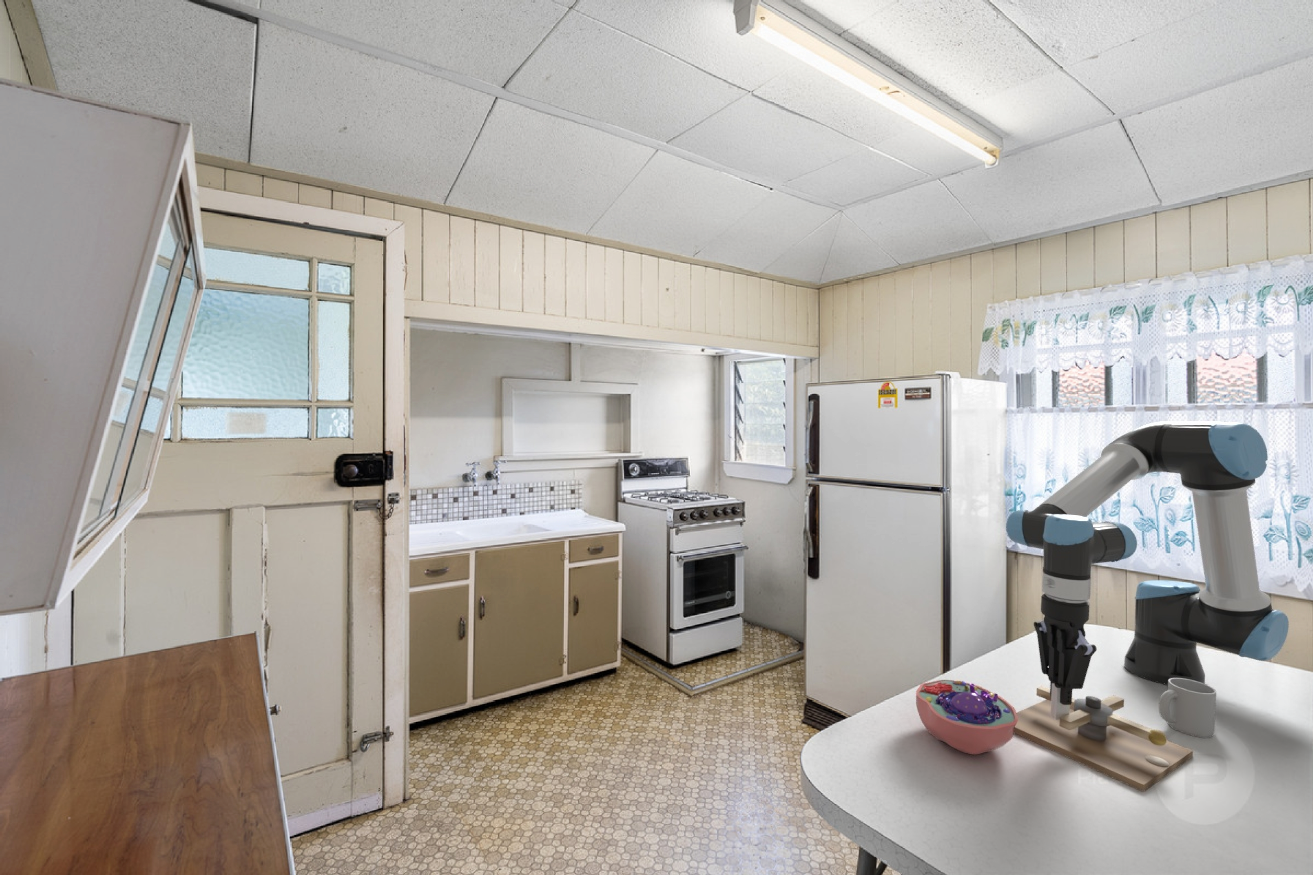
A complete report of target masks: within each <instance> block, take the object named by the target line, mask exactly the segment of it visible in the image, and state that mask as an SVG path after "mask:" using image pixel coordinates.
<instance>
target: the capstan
mask: <svg viewBox="0 0 1313 875" xmlns="http://www.w3.org/2000/svg"><path fill="white" fill-rule="evenodd" d="M1035 694H1036V696H1037V697H1039V698H1043V699H1044V700H1049V701H1051V696H1050V688H1049V687H1045V686H1043V685H1041V686H1038V687H1036V693H1035ZM1124 706H1125V698H1122V697H1119V696H1116V695H1111V696H1108V697H1107V698H1103V699H1102V700H1101V699H1100V698H1098V697H1096V696H1092V695H1087V696H1085V698H1076V699H1075V698H1073V697H1072V703H1071V705H1070V709H1071V710H1074V712H1072V713H1070V714H1067V715H1065V716H1063V717H1060V724H1059V726H1060V727H1063V728H1065V729H1067V730H1072V729H1075V728H1077V727H1079V726H1081V725H1084V724H1086V723H1089V724H1093V725H1098V726H1110V725H1111V726H1113V727H1116V728H1118V729H1121V730H1123V731H1126V732H1128V733H1131V734H1133V735H1135V736H1138V737H1140V738H1143V739H1145V740H1148V741H1150V742H1152V743H1153V744H1155V745H1158V746H1162V745H1164V744H1166V742H1167V741H1168V739H1167V736H1166V734H1165V733H1164V732H1162V731H1161V730H1158V729H1152V728H1151V727H1148V726H1145V725H1143V724H1140V723H1138V722H1135V721H1133V720H1129V719H1127V718H1124V717H1122V716H1121V715H1117V714H1114V712H1115V711H1118V710H1120V709H1122V708H1125V707H1124Z"/></svg>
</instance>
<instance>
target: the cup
mask: <svg viewBox="0 0 1313 875" xmlns="http://www.w3.org/2000/svg"><path fill="white" fill-rule="evenodd" d="M1158 700H1159V701H1158V711H1159V715H1160V717H1161V718H1162V720H1164V721H1165V722H1166V723H1167V724H1168V725H1169V726H1170V728H1172V729H1174V730H1175V731H1177V732H1180V733H1182V734H1186V735H1188V736H1192V737H1195V738H1203V739H1205V738H1206V739H1207V738H1211V737H1213V736H1214V735H1215V728H1216V726H1215V724H1216V706H1217V705H1216V704H1217V691H1216V689H1215V688H1214V687H1211V686H1210V685H1208V684H1206V683H1205V684H1203V683H1200V682H1197V681H1193V680H1189V679H1183V678H1171V679H1169V680H1168V685H1167V690H1165V691H1164V692H1163V693H1162V694H1161V695H1160V697H1159V699H1158Z"/></svg>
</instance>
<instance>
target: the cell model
mask: <svg viewBox="0 0 1313 875" xmlns="http://www.w3.org/2000/svg"><path fill="white" fill-rule="evenodd" d="M915 694H916V696H915V704H916V709H917V712H918V713H917V714H918V716H919V719H920V721H921V723H922V725H923V726H924V727H925V729H926V730H927V731H928V733H929V734H930V735H931V736H933V737H934V738H935V739H937V740H938V741H941V742H943V743H945V744H947V745H948V746H950V747H951V748H953V749H954V750H957V751H959V752H961V753H965V754H969V755H980V754H983V753H987V752H988V753H989V752H993V751H996V750H998V749H1000V748H1002V747H1004V746H1005V745H1006V744H1008V743H1009V742H1011V740H1012V739H1013V738H1014V733H1013V732H1014V727H1015V725H1016V724H1017V722H1018V717H1017V714H1016V713H1017V711H1016V709H1015V707H1013V705H1012V704H1011V703H1009V702H1008V701H1007V700H1006V699H1004V698H1003V697H1001V696H1000V695H998V693H995V692H994V693H993V692H992V691H990V690H988V689H986V688H983V687H982V686H979V685H978V684H977V685H976V684H974V683H968V682H965V681H964V680H954V679H953V680H951V679H938V680H934V681H933V680H932V681H929V682H924V683H921V684H920V685H919V687H918V688H917V690H916V693H915Z"/></svg>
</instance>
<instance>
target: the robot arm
mask: <svg viewBox="0 0 1313 875" xmlns="http://www.w3.org/2000/svg"><path fill="white" fill-rule="evenodd" d="M1268 458H1269V457H1268V449H1267V446H1266V443H1265V441H1264V438H1263V436H1262V435H1261V434H1260V432H1259V431H1258V430H1257V429H1256V428H1254V427H1253V426H1252V425H1250V424H1248V423H1247V424H1246V423H1242V422H1228V421H1221V420H1220V421H1158V422H1153V423H1149V424H1146V425H1143V426H1140V427H1138V428H1135V429H1133V430H1130V431H1128V432H1127V433H1125V434H1123V435H1121V436H1119V437H1118V438H1115V439H1114V440H1113V441H1112V442H1110V443H1109V444H1107V445H1106V446H1105V447H1104V448H1102V450H1101V454H1100V456H1099V458H1097V459H1096V460H1095V461H1094V462H1092V463H1091V464H1090V465H1088V466H1087V467H1086V468H1085V469H1083V470H1082V471H1081V472H1080V473H1078V474H1077V475H1076V476H1074V477H1073V478H1072V479H1071V480H1070V481H1068V482H1067V483H1066V484H1064V485H1063V486H1062V487H1061V488H1059V489H1058V490H1057V491H1056V492H1054V493H1053V494H1051V495H1050V496H1049V497H1048V498H1047V499H1046V500H1044V501H1043V502H1042V503H1040V504H1039V505H1038V506H1036V507H1035V508H1034V509H1033V510H1027V509H1024V510H1022V509H1021V510H1020V509H1019V510H1015V511H1012V512H1011V513H1010V514H1009V516H1008V518H1007V520H1006V524H1005V529H1006V533H1007V536H1008V538H1009V539H1010V541H1012V542H1014V543H1016V544H1019V545H1022V546H1026V547H1029V548H1035V549H1040V550H1043V556H1042V557H1043V558H1042V559H1043V561H1042V562H1043V566H1042V580H1041V581H1042V582H1041V583H1042V585H1041V592H1043V594H1042V595H1041V596H1040V597H1041V598H1040V612H1041V614H1042V615H1043V620H1041V621H1034V622H1033V627H1034V629H1035V633H1036V636H1037V644H1038V651H1039V652H1038V653H1039V660H1040V661H1039V662H1040V667H1041V672H1042V674H1043V675H1046V676H1047V677H1048V678H1047V679H1048V681H1049V682H1050V683H1049V684H1050V685H1049V686H1050V687H1049V689H1050V696H1051V717H1053V718H1054V719H1055V720H1060V717H1063V716H1065V715H1067V714H1069V713H1070V705H1071V703H1072V698H1073V690H1082V689H1083V688H1084V684H1085V680H1086V678H1087V677H1086V676H1087V674H1088V671H1089V667H1090V664H1091V660H1092V659H1091V658H1092V656H1093V655H1094V654H1095V652H1097V650H1098V649H1097V646H1096V645H1095V644H1090V643H1089V642H1088V640H1087V639H1086V631H1085V624H1086V623H1087V622H1088V621H1089V620H1090V603H1089V601H1088V600H1090V598H1091V586H1092V585H1091V584H1092V583H1091V579H1092V578H1091V576H1092V575H1091V574H1092V565H1094V564H1102V563H1115V562H1116V563H1117V562H1119V561H1122V560H1126V559H1129V558H1130V557H1131V556H1133V555H1134V553H1135V552H1136V550H1137V546H1138V540H1137V535H1135V533H1134V531H1133V530H1132V529H1131V528H1130V527H1128V526H1127V525H1125V524H1124V523H1121V522H1115V521H1106V520H1105V521H1104V522H1103V521H1102V522H1097V521H1092V519H1090V518H1089V517H1088V516H1089V515H1090V514H1092V513H1093V512H1095V511H1096V509H1098V508H1099V507H1100V506H1102V504H1104V503H1105V502H1106V501H1108V500H1109V499H1110V498H1111V497H1112V496H1114V495H1115V494H1116V493H1117V492H1118V491H1120V490H1121V489H1122V488H1123V487H1124V486H1126V485H1127V484H1128V483H1130V482H1131V481H1133V480H1134V481H1135V480H1140V479H1141V478H1143V477H1145V476H1146V475H1147V474H1150V473H1170V474H1171V473H1172V474H1179V475H1180V479H1181V480H1180V481H1181V485H1182V486H1183V487H1184V488H1185V489H1187V490H1189V491H1191V492H1192V499H1193V507H1194V514H1195V520H1196V525H1197V526H1196V527H1197V535H1198V542H1199V548H1200V554H1201V562H1202V568H1203V574H1204V582H1205V587H1204V588H1202V589H1200V587H1199V585H1198V584H1194V583H1192V582H1184V581H1177V580H1145V581H1141V582H1139V583H1138V584H1137V586H1136V592H1135V596H1134V600H1135V602H1134V604H1135V606H1134V607H1135V609H1134V635H1133V636H1134V637H1133V639H1132V641H1131V643H1130V646H1129V647H1128V649H1127V651H1126V654H1125V655H1124V660H1123V661H1124V664H1123V665H1124V668H1125V669H1126V670H1127V671H1129V673H1132V674H1134V675H1136V676H1138V677H1141V678H1144V679H1146V680H1149V681H1151V682H1155V683H1157V684H1158V683H1159V684H1163V685H1167V686H1168V680H1169V679H1171V678H1183V679H1189V680H1193V681H1197V682H1200V683H1203V684H1206V680H1205V679H1206V673H1205V670H1204V668H1203V665H1202V662H1201V660H1200V657H1199V654H1198V651H1197V644H1200V645H1204V646H1207V647H1211V648H1214V649H1216V650H1217V649H1218V650H1221V651H1224V652H1227V653H1231V654H1234V655H1238V656H1239V657H1241V658H1248V659H1251V660H1255V661H1260V662H1264V661H1266V662H1267V661H1269V660H1271V659H1273V658H1275V657H1276V656H1277V655H1278V654H1279V652H1281V650H1282V648H1283V647H1284V644H1285V642H1286V639H1287V636H1288V633H1289V625H1290V623H1289V618H1288V615H1287V614H1286V613H1284V612H1283V611H1280V610H1279V609H1273V607H1272V606H1273V605H1272V599H1271V596H1269V595H1268V594H1267V593H1266V592H1264V591H1262V590H1260V585H1259V584H1260V582H1259V576H1258V575H1259V574H1258V568H1257V561H1256V552H1255V546H1254V545H1255V544H1254V539H1253V531H1252V530H1253V529H1252V522H1251V515H1250V508H1249V499H1248V493H1247V490H1248V489H1250V488H1251V487H1252V486H1254V485H1255V484H1256V479H1258V478H1260V477H1261V476H1263V474H1264V473H1265V471H1266V468H1267V461H1268Z"/></svg>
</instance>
